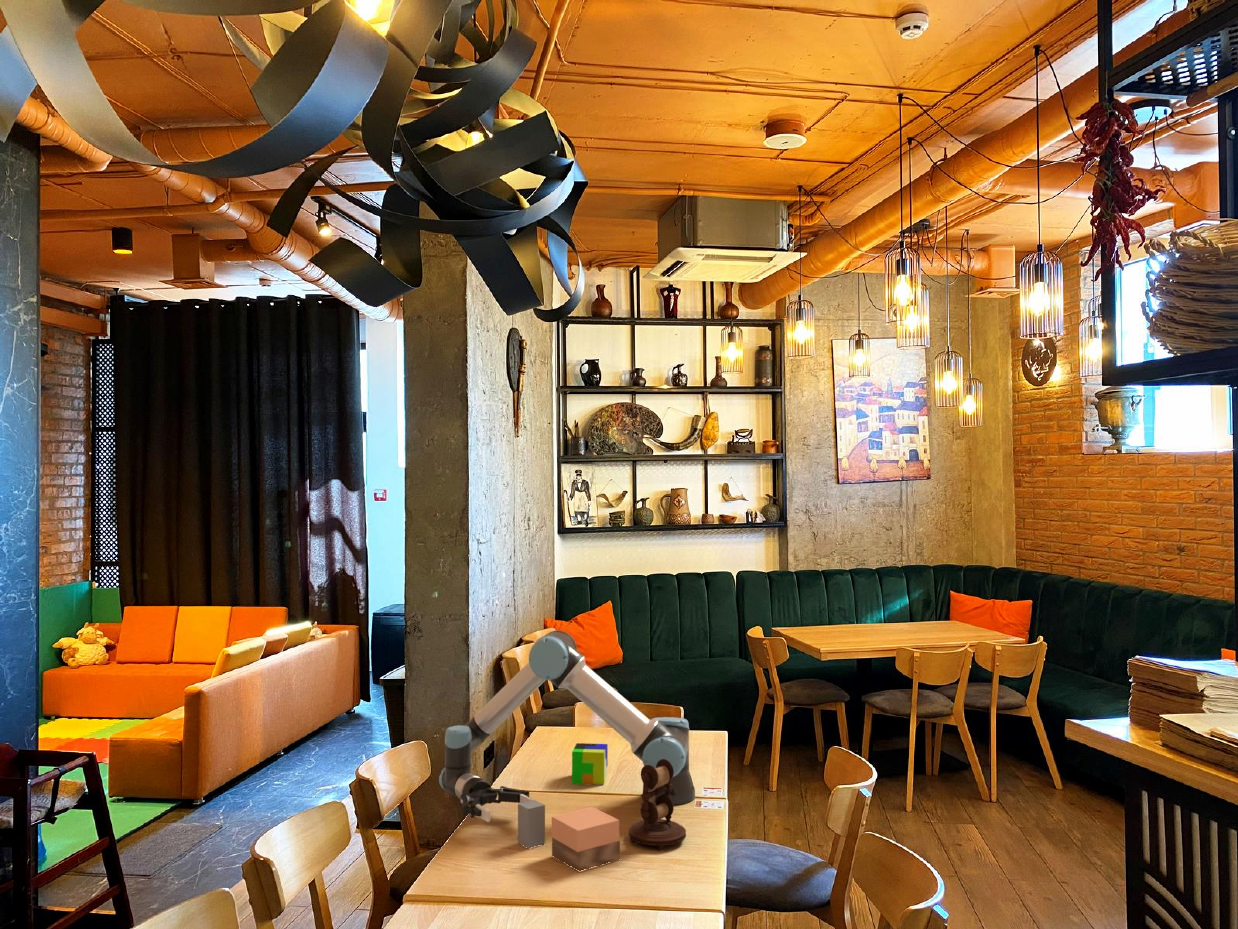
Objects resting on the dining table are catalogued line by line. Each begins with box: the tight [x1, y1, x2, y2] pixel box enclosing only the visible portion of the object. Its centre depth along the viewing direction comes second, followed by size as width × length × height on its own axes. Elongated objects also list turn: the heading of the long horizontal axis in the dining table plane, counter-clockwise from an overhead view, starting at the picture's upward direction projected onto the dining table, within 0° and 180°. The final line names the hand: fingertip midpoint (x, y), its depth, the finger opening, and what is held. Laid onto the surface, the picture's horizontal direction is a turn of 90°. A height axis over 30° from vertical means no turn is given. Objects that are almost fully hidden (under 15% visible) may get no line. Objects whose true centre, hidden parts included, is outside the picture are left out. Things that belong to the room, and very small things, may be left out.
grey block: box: [517, 799, 546, 850], centre depth 226 cm, size 5×5×10 cm
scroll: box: [628, 759, 687, 851], centre depth 228 cm, size 15×15×20 cm
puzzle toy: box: [571, 742, 609, 785], centre depth 279 cm, size 10×10×10 cm
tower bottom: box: [551, 837, 621, 871], centre depth 217 cm, size 12×12×5 cm
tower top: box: [551, 806, 620, 852], centre depth 217 cm, size 12×12×5 cm
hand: (511, 811), depth 233 cm, fingers open, 13 cm apart
